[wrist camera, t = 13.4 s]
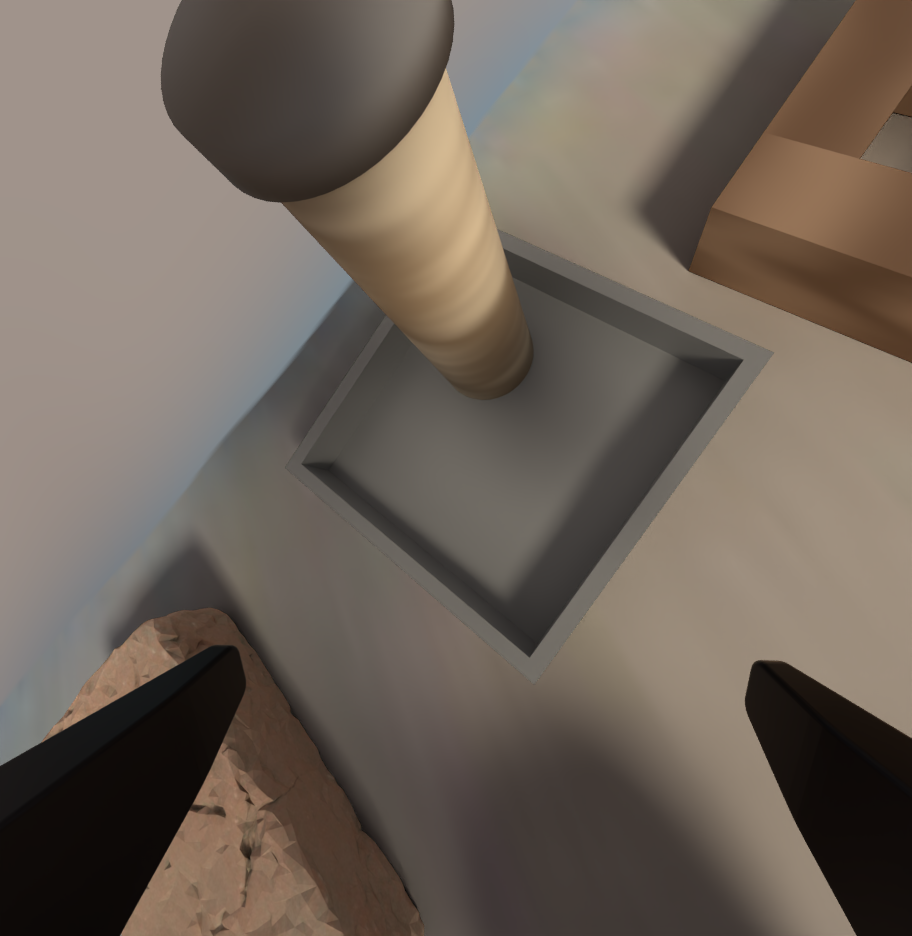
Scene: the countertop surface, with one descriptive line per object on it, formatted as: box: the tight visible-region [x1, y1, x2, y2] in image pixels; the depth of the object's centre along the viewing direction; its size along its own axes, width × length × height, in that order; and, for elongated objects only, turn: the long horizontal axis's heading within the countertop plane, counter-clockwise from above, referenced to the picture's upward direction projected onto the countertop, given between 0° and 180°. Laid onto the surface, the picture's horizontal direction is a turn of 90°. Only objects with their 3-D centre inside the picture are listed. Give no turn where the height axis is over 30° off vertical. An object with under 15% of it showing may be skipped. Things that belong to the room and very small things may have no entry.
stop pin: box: [161, 0, 534, 400], centre depth 12 cm, size 5×5×13 cm
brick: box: [41, 608, 424, 936], centre depth 17 cm, size 17×8×5 cm, turn 44°
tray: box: [285, 229, 774, 684], centre depth 17 cm, size 13×13×2 cm
